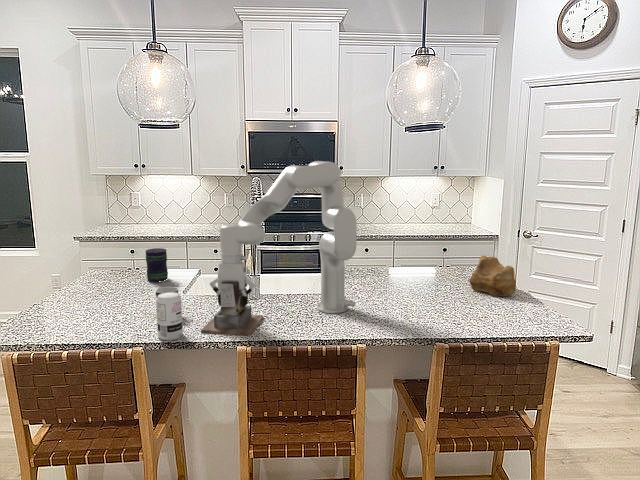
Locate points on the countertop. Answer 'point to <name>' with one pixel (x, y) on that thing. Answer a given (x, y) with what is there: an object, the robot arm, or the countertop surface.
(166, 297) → the supplement can
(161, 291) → the coffee mug
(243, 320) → the holder stand
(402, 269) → the countertop surface
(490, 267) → the rough brown rock
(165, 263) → the storage jar
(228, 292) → the coffee box
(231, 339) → the countertop surface
